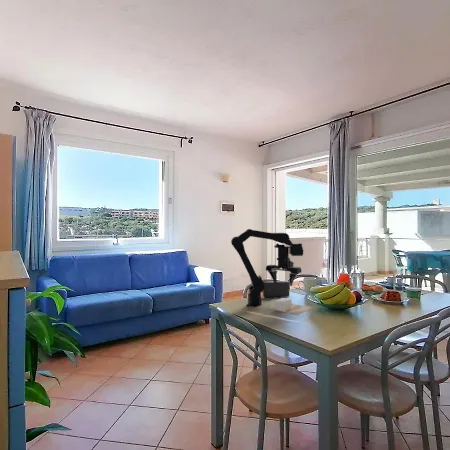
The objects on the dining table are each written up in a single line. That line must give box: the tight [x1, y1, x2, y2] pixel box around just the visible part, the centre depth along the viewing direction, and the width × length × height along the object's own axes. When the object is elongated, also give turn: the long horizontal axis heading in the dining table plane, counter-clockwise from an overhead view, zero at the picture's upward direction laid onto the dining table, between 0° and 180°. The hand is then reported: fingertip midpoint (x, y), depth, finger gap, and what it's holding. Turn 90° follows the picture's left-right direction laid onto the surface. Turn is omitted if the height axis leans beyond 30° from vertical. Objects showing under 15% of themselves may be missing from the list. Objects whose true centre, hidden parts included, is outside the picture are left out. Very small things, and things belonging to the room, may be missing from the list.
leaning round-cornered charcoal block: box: [262, 280, 290, 299], centre depth 190 cm, size 16×5×9 cm, turn 99°
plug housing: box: [274, 297, 292, 311], centre depth 160 cm, size 5×10×4 cm, turn 142°
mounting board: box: [270, 303, 314, 316], centre depth 160 cm, size 15×18×3 cm
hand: (283, 284), depth 170 cm, fingers open, 9 cm apart
